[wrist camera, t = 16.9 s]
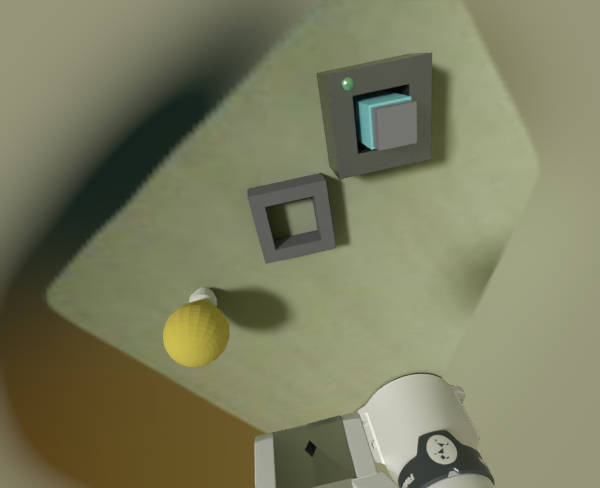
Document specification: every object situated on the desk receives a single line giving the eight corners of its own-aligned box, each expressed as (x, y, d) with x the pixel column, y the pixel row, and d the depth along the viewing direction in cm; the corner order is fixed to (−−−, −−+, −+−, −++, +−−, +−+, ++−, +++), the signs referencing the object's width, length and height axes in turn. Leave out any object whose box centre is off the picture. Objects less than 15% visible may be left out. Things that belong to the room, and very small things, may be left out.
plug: (385, 128, 35) (419, 144, 28) (351, 135, 35) (377, 153, 28) (383, 90, 33) (419, 98, 26) (347, 98, 33) (374, 107, 26)
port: (411, 148, 36) (432, 159, 32) (329, 166, 36) (339, 179, 32) (409, 53, 32) (433, 52, 28) (316, 73, 32) (326, 75, 28)
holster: (331, 237, 40) (335, 248, 38) (264, 252, 40) (265, 263, 38) (321, 173, 36) (325, 180, 34) (247, 189, 36) (247, 197, 34)
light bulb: (173, 314, 42) (154, 379, 34) (177, 268, 40) (157, 327, 31) (228, 319, 44) (223, 383, 35) (235, 276, 41) (232, 334, 32)
